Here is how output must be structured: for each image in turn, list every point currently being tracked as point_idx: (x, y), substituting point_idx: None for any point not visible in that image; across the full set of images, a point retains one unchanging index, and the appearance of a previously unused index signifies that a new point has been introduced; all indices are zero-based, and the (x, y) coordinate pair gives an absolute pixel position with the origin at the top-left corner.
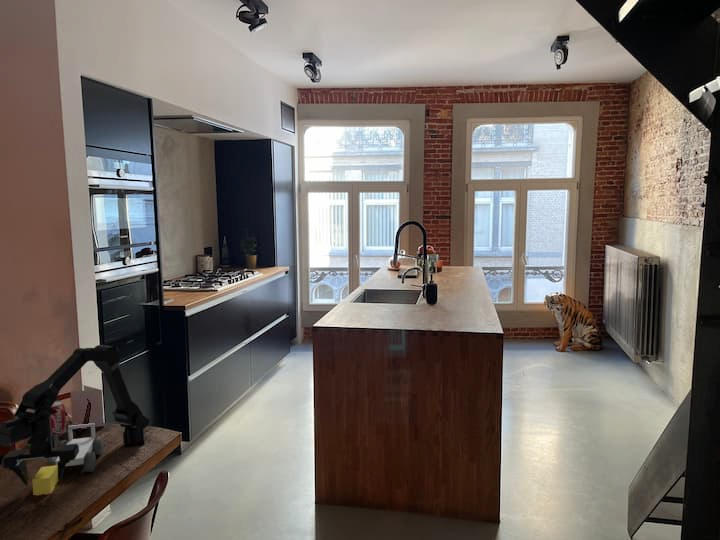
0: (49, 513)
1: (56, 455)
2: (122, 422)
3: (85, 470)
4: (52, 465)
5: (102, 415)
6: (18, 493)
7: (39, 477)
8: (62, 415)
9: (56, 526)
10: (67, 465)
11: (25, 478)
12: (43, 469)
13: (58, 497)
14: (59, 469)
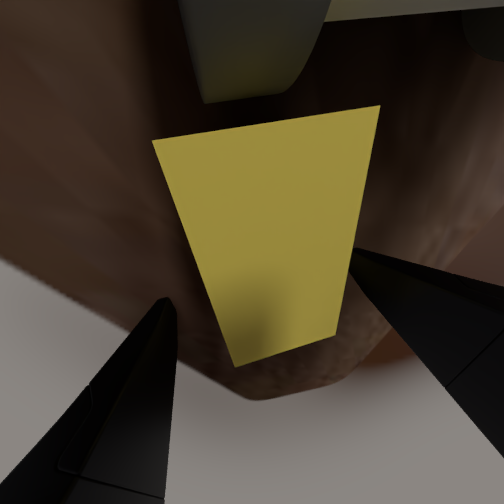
0: (319, 349)
1: None
2: None
3: (489, 56)
4: (289, 51)
5: None
6: (120, 274)
7: (269, 342)
8: None
9: (342, 372)
10: (439, 10)
11: (170, 374)
12: (233, 225)
13: None
14: (441, 369)
